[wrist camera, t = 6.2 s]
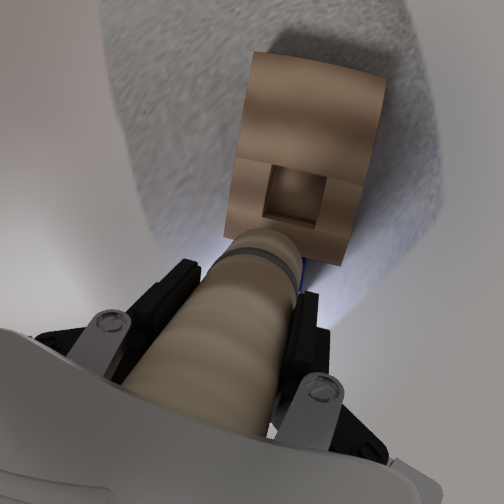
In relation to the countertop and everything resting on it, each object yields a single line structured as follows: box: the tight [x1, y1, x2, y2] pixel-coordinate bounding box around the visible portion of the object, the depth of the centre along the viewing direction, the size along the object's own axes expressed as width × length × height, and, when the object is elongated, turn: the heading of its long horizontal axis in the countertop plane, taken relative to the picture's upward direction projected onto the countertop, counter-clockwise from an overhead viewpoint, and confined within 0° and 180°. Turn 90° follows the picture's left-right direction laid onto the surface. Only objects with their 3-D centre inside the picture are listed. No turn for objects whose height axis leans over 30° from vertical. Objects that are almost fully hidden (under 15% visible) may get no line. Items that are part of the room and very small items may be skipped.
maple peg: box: [121, 228, 303, 438], centre depth 10 cm, size 4×4×12 cm
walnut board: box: [223, 51, 387, 267], centre depth 30 cm, size 20×13×4 cm, turn 171°
